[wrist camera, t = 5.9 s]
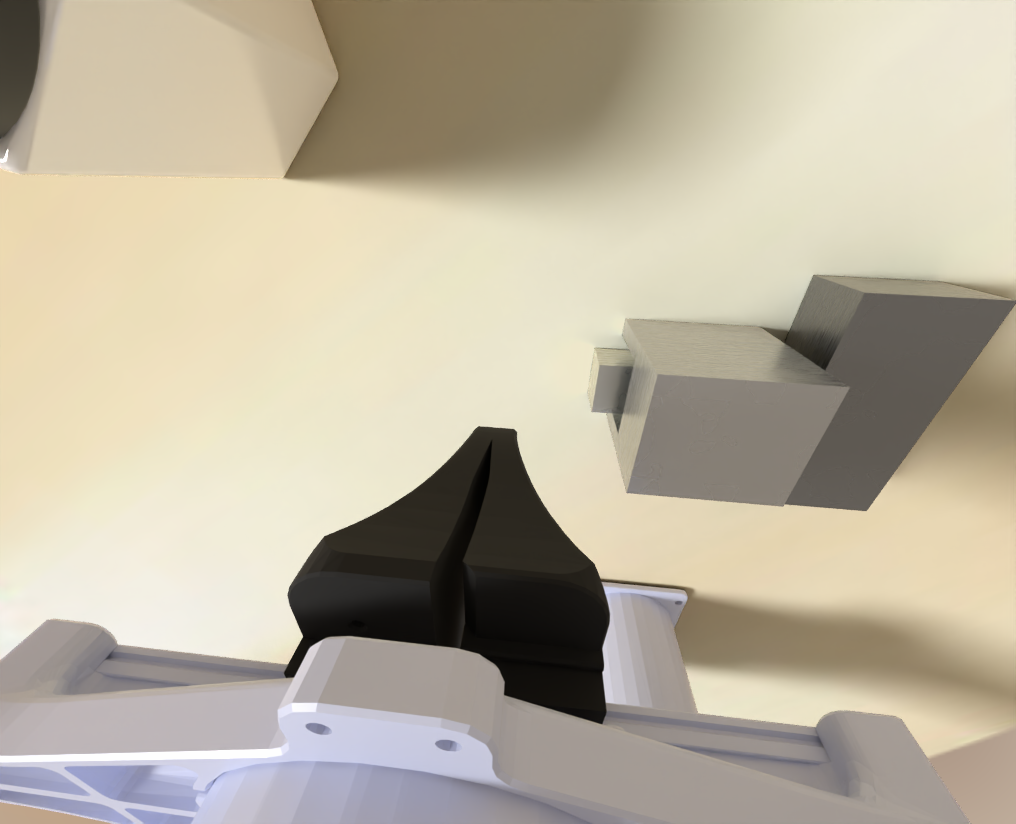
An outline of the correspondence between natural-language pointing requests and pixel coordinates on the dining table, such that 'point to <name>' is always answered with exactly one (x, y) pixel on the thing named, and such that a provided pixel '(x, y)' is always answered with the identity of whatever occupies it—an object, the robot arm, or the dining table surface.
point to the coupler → (863, 373)
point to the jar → (159, 86)
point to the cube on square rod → (719, 412)
